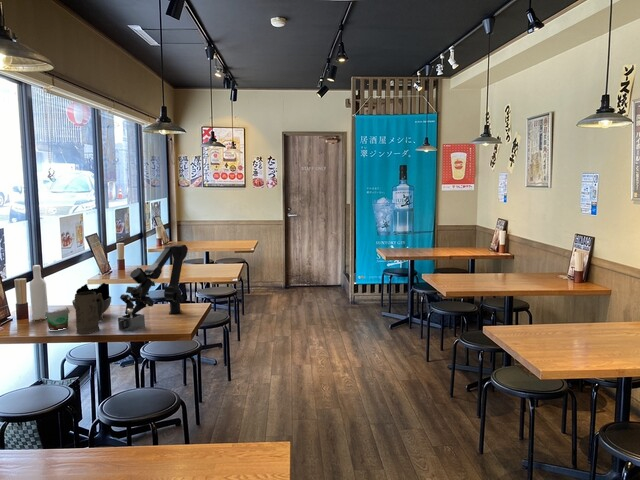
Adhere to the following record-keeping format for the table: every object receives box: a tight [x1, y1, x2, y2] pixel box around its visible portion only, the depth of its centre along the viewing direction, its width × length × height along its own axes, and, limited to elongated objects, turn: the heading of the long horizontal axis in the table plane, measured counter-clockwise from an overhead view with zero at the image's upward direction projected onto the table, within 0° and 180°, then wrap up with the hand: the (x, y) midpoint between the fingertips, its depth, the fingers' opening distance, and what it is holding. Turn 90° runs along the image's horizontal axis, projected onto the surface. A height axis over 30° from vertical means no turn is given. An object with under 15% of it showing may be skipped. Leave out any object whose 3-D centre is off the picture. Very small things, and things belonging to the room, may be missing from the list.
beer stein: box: [74, 292, 104, 335], centre depth 264 cm, size 15×11×20 cm
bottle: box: [29, 264, 49, 319], centre depth 287 cm, size 8×8×30 cm
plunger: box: [127, 307, 134, 318], centre depth 266 cm, size 7×7×10 cm
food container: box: [45, 306, 70, 330], centre depth 267 cm, size 12×6×10 cm, turn 148°
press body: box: [117, 313, 146, 332], centre depth 265 cm, size 12×9×6 cm
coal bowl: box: [71, 282, 112, 315], centre depth 290 cm, size 20×20×19 cm
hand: (129, 314), depth 264 cm, fingers closed on plunger, 4 cm apart
